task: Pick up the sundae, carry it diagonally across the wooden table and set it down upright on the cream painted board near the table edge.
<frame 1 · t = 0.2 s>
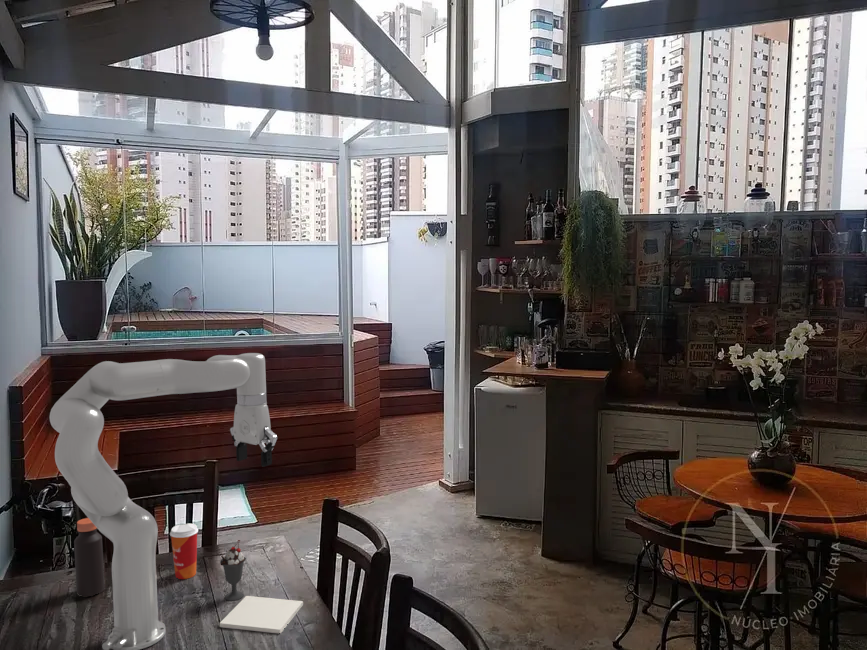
hand: (254, 462, 178), 36 cm above the table, tool pointing down, fingers open, 9 cm apart
sundae: (234, 597, 179), on the table
board: (262, 615, 168), on the table
bottle: (90, 592, 182), on the table
paper cup: (185, 575, 191), on the table
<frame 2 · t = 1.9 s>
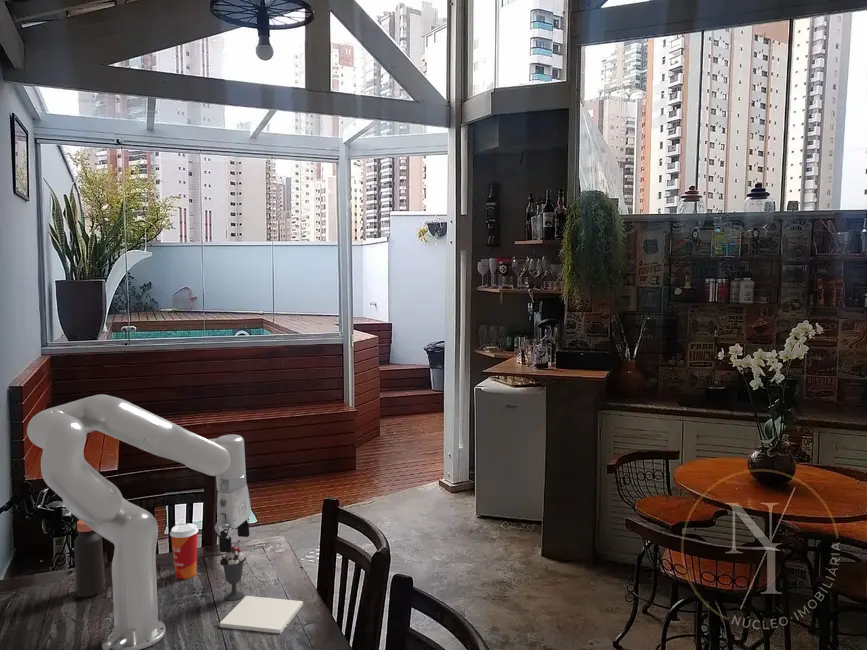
hand: (235, 543, 178), 14 cm above the table, tool pointing down, fingers open, 9 cm apart
nothing on the table moved.
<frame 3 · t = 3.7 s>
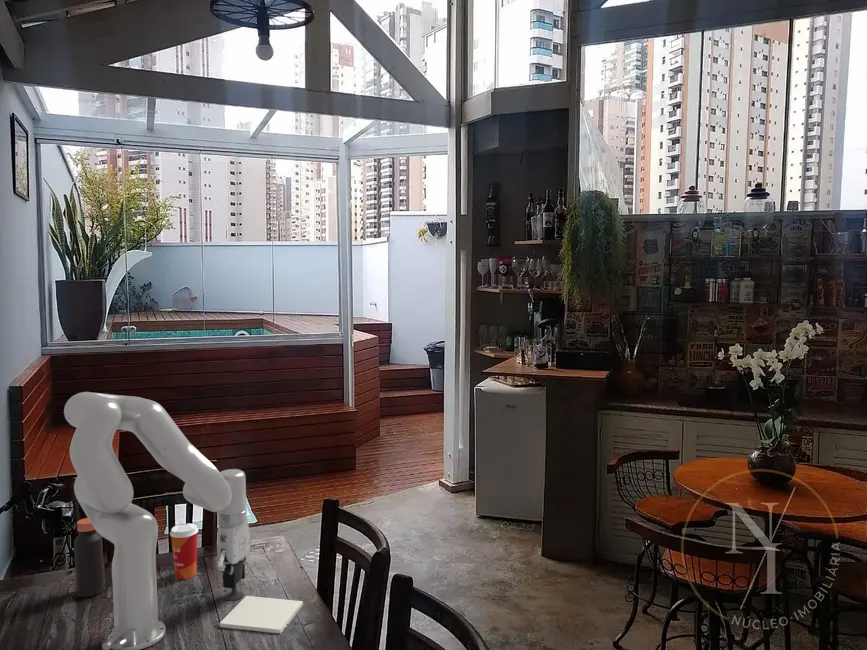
hand: (234, 582, 178), 4 cm above the table, tool pointing down, fingers closed on sundae, 4 cm apart
sundae: (234, 596, 179), on the table, touching gripper
everything else where it was.
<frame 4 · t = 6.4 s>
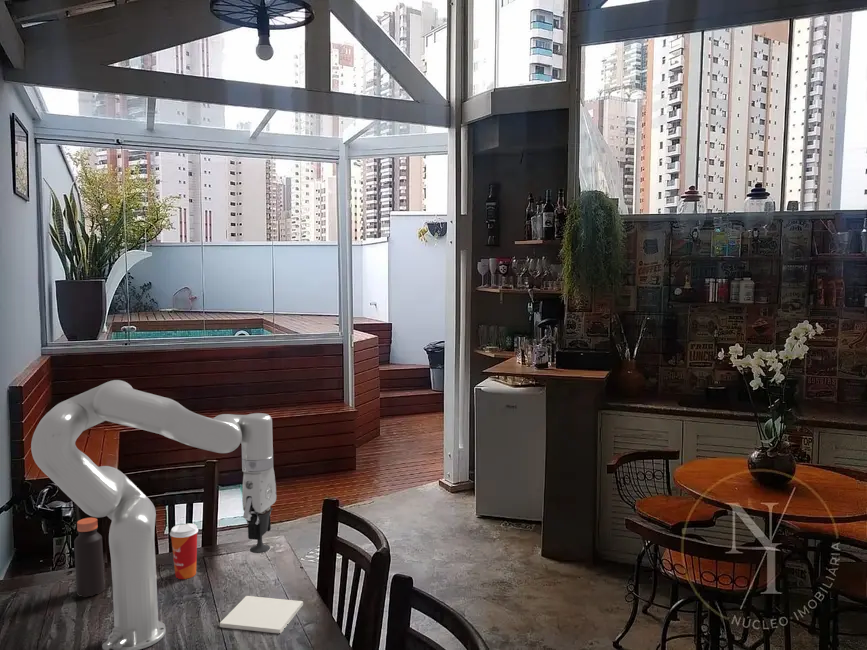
hand: (259, 533, 167), 21 cm above the table, tool pointing down, fingers closed on sundae, 4 cm apart
sundae: (260, 549, 167), point 17 cm above the table, touching gripper
everything else where it was.
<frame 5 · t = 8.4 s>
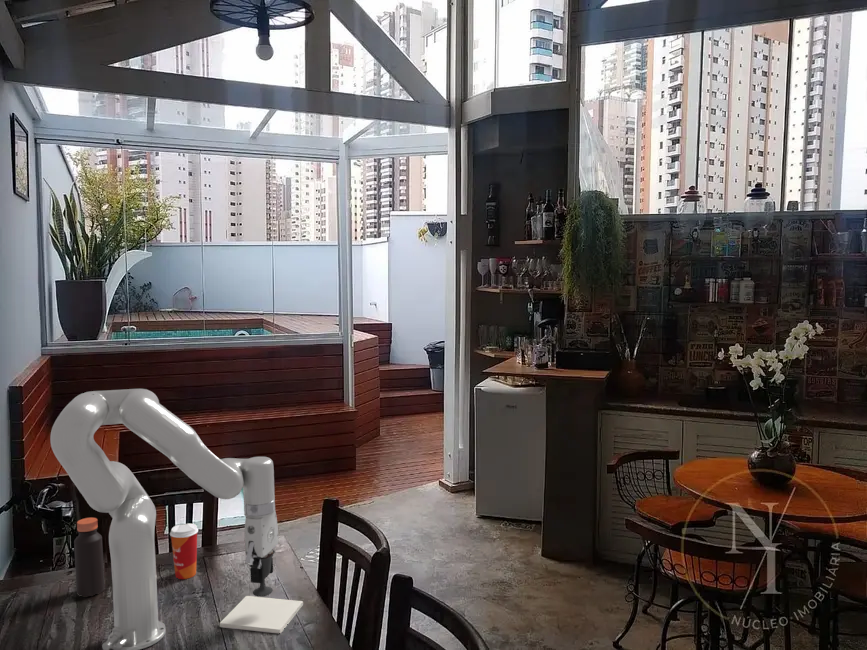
hand: (262, 576, 168), 10 cm above the table, tool pointing down, fingers closed on sundae, 4 cm apart
sundae: (262, 592, 168), point 6 cm above the table, touching gripper
everything else where it was.
when the fingers open (7 cm above the table, at t = 9.5 s): sundae drops 2 cm, resting on board.
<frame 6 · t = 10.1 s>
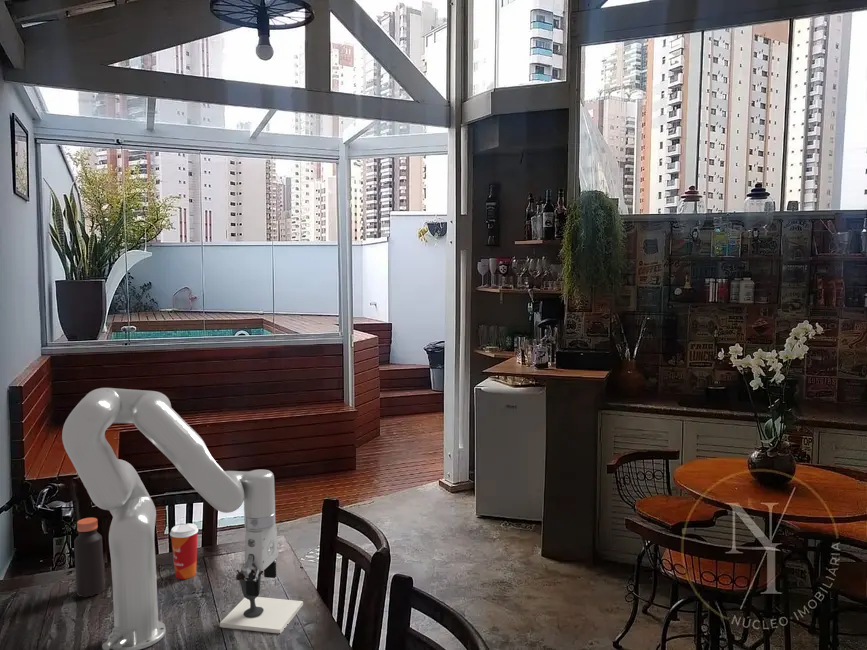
hand: (261, 585, 168), 8 cm above the table, tool pointing down, fingers open, 9 cm apart
sundae: (253, 612, 168), point 1 cm above the table, touching board
everything else where it was.
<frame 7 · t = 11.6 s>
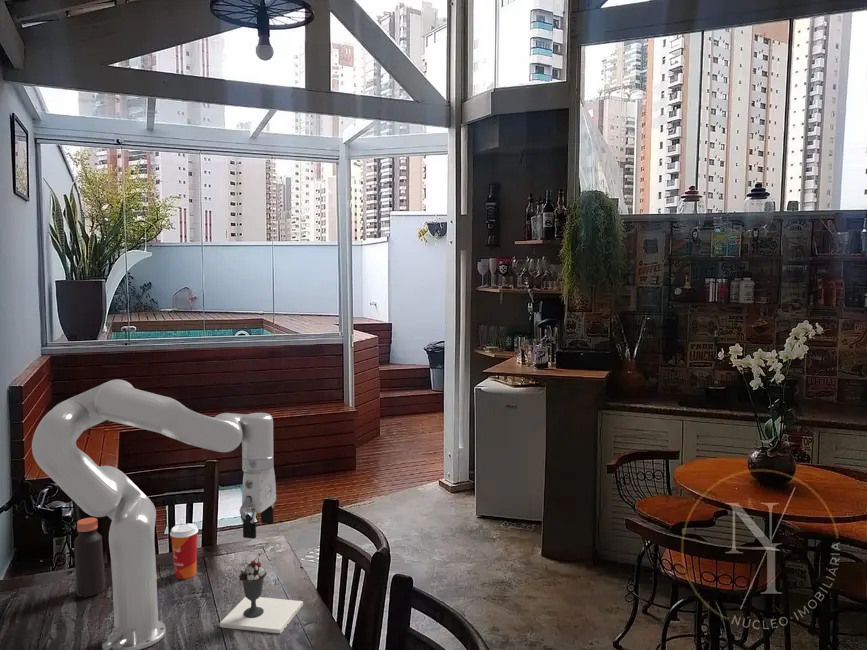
hand: (258, 530, 167), 22 cm above the table, tool pointing down, fingers open, 9 cm apart
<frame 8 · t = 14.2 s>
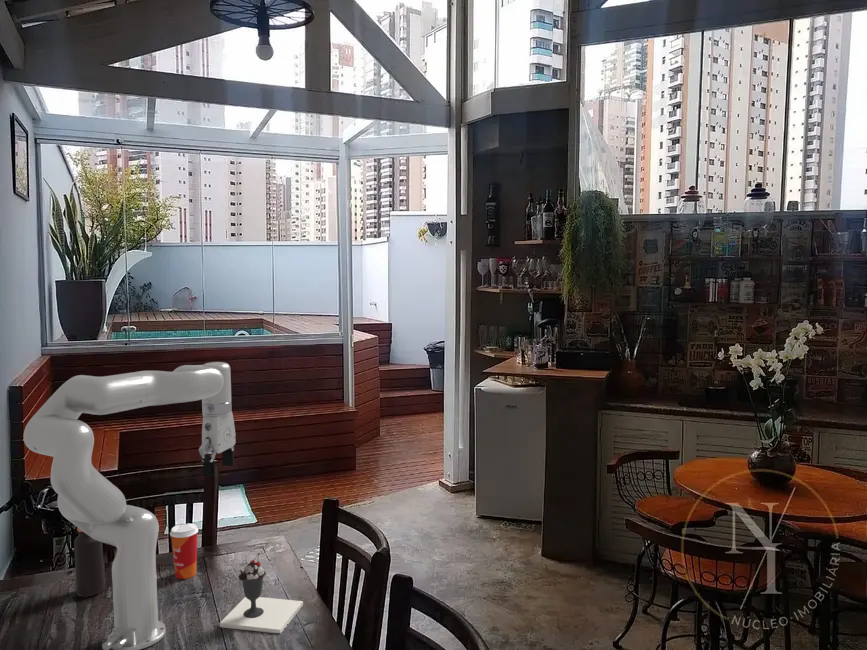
hand: (219, 470, 180), 33 cm above the table, tool pointing down, fingers open, 9 cm apart
nothing on the table moved.
at the end: sundae inside the target area on the board (2.2 cm from its centre), point 0.8 cm above the board's base; sundae tilted 0°; the gripper is holding nothing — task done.
